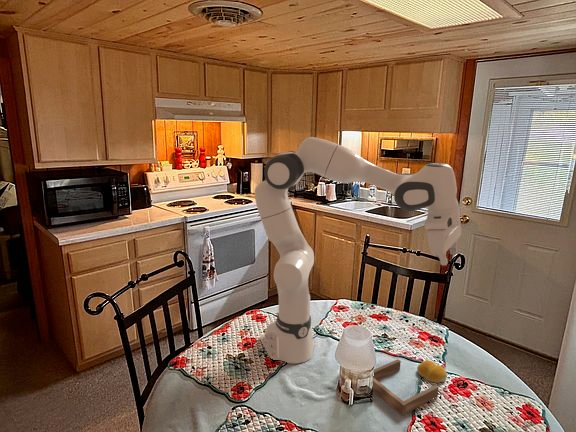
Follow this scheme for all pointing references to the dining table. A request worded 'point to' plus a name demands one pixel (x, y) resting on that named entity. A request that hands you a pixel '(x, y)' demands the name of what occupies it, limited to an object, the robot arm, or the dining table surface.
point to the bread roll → (432, 371)
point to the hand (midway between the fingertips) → (449, 259)
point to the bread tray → (391, 398)
